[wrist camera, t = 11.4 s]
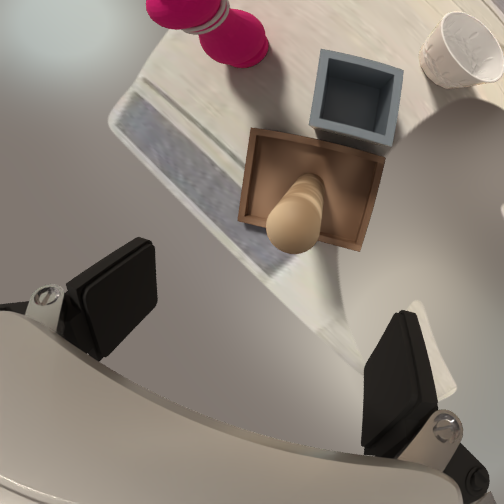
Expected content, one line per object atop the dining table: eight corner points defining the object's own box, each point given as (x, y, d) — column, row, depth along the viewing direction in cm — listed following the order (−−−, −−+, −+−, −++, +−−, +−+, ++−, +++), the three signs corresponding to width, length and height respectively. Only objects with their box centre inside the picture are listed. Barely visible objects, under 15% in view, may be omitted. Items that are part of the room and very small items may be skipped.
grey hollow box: (385, 87, 25) (403, 70, 17) (375, 144, 28) (391, 146, 20) (323, 71, 26) (320, 48, 18) (314, 128, 29) (308, 125, 21)
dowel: (327, 176, 31) (325, 209, 17) (321, 204, 32) (312, 259, 18) (298, 169, 31) (271, 196, 17) (293, 197, 33) (262, 246, 19)
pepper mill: (232, 19, 25) (144, -52, 8) (282, 34, 25) (223, -56, 7) (209, 62, 29) (99, 19, 11) (257, 79, 28) (169, 25, 11)
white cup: (412, 80, 23) (441, 61, 14) (414, 29, 20) (438, -1, 11) (465, 102, 21) (505, 95, 13) (466, 52, 18) (501, 33, 9)
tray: (382, 156, 28) (385, 157, 27) (358, 246, 34) (359, 251, 32) (254, 128, 31) (250, 127, 30) (241, 217, 37) (237, 221, 35)
